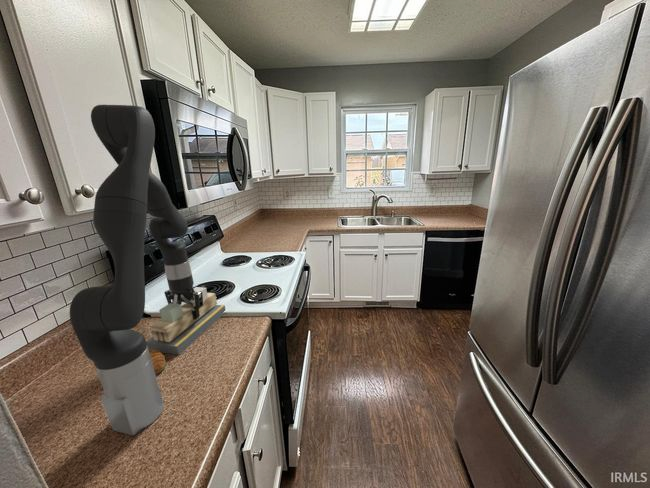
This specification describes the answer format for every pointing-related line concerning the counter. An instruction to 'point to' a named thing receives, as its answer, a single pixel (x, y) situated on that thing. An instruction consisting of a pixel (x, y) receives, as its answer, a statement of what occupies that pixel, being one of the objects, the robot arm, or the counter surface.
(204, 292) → the crate grey
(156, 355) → the pastry
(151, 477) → the counter surface
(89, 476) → the counter surface
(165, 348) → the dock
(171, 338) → the beige blocky bar
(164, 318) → the crate sage
